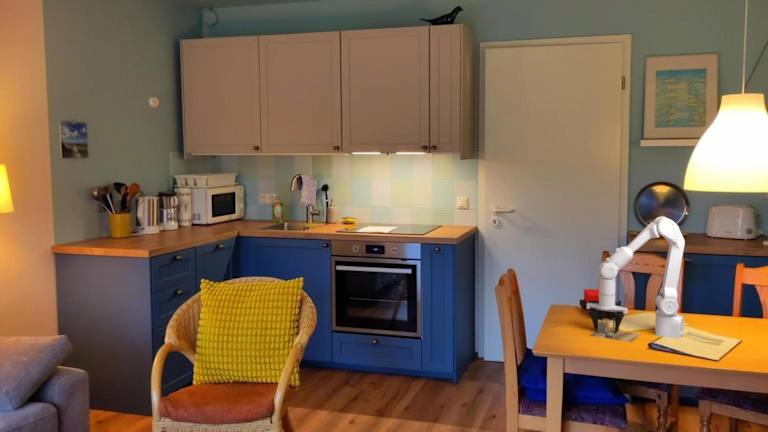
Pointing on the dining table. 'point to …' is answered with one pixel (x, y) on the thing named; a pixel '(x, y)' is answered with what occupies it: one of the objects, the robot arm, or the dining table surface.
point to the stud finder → (603, 326)
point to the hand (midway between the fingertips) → (606, 330)
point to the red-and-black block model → (593, 297)
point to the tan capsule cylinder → (608, 329)
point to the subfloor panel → (618, 336)
